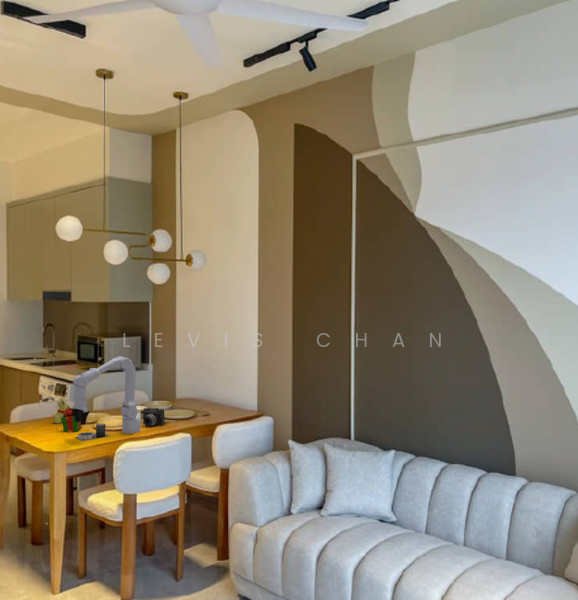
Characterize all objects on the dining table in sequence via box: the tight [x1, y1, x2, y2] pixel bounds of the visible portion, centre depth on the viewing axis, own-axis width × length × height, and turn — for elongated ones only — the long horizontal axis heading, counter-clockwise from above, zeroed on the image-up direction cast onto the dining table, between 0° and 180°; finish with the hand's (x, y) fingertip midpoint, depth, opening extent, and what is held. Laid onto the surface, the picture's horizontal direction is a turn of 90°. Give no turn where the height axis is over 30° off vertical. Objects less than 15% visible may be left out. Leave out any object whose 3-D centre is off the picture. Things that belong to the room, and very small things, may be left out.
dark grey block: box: [95, 422, 107, 437], centre depth 325 cm, size 5×5×6 cm
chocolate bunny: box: [52, 397, 72, 425], centre depth 357 cm, size 7×11×15 cm, turn 137°
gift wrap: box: [51, 407, 88, 434], centre depth 333 cm, size 20×19×14 cm
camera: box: [142, 406, 166, 427], centre depth 353 cm, size 14×11×10 cm
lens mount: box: [74, 431, 111, 442], centre depth 322 cm, size 16×10×3 cm, turn 131°
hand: (80, 423), depth 315 cm, fingers open, 7 cm apart
